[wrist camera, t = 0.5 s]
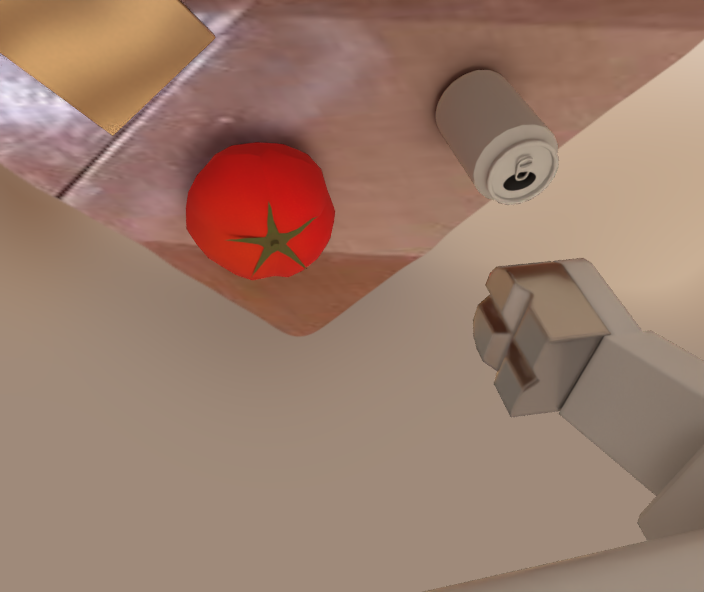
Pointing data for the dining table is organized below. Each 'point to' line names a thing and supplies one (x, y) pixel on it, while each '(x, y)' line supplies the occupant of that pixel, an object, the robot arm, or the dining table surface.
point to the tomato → (260, 210)
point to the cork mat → (102, 50)
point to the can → (497, 137)
